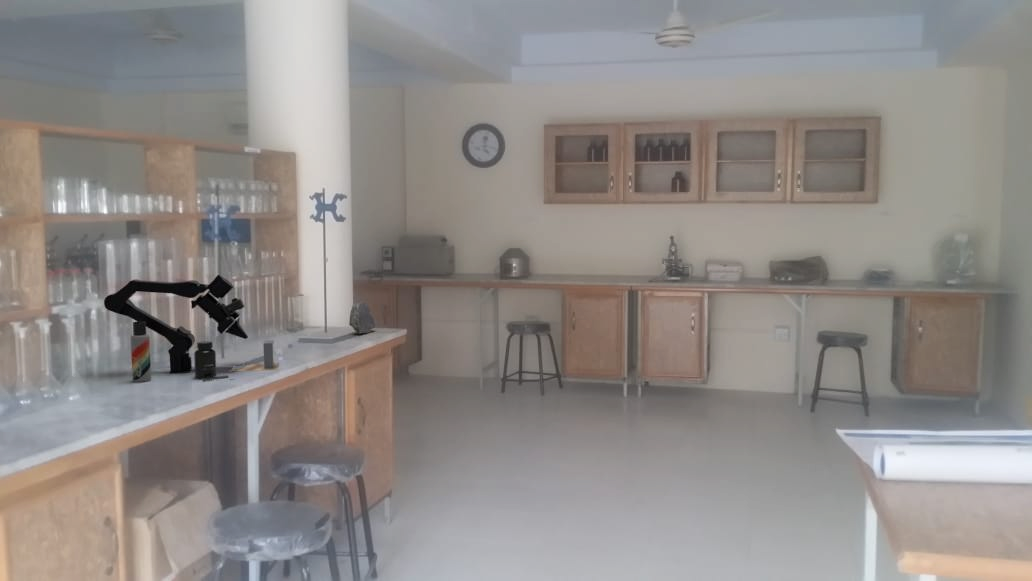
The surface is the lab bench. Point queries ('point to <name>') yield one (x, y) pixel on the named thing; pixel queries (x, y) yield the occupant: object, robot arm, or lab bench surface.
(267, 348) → the thick grey slab block
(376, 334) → the lab bench surface
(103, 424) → the lab bench surface
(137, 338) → the lotion bottle
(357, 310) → the decorative rock
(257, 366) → the cork mat
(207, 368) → the supplement bottle
